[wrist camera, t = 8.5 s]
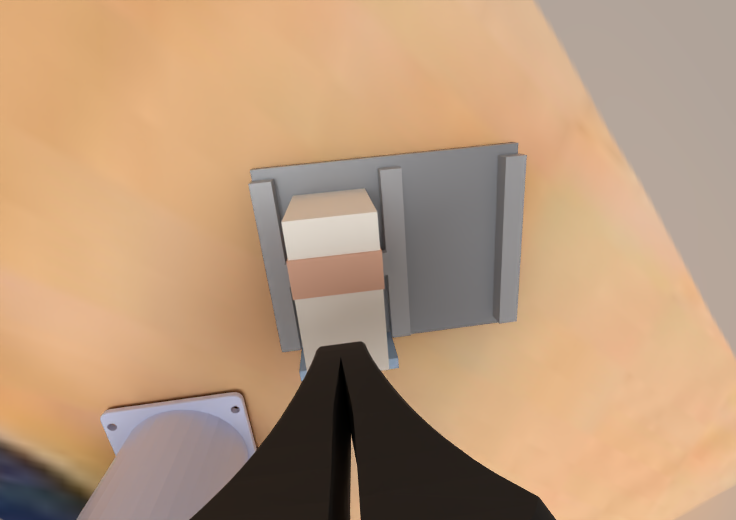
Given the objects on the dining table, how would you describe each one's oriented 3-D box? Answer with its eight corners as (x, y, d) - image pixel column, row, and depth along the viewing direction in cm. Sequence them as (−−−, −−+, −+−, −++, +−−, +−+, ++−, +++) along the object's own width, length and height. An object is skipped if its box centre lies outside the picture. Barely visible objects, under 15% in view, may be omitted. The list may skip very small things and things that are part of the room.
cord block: (376, 313, 21) (390, 370, 16) (311, 321, 21) (307, 381, 16) (365, 187, 19) (378, 212, 14) (291, 195, 18) (279, 222, 14)
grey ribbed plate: (504, 321, 23) (529, 349, 20) (287, 350, 22) (281, 384, 19) (513, 142, 19) (545, 146, 16) (251, 168, 18) (238, 178, 15)
